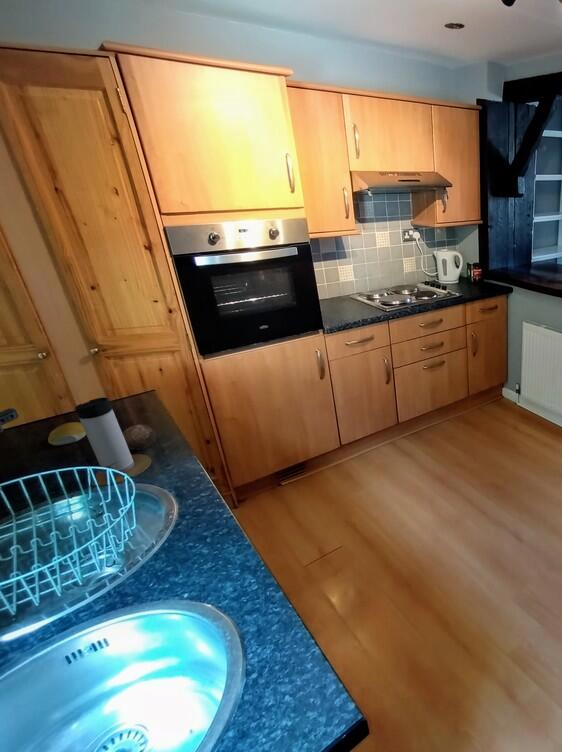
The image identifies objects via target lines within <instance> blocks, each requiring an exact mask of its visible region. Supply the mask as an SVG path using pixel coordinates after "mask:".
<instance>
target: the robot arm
mask: <svg viewBox="0 0 562 752" xmlns="http://www.w3.org/2000/svg"><path fill="white" fill-rule="evenodd" d="M18 418H19V413H18V412H17V409H16V408H13V407H12V408H9V407H8V408H7V409H4V410H1V411H0V434H1V433H3V432H4V428H3V427H2V426H4V425H6V424H8V423H10V422H13V421H15V420H17V419H18Z"/></svg>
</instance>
